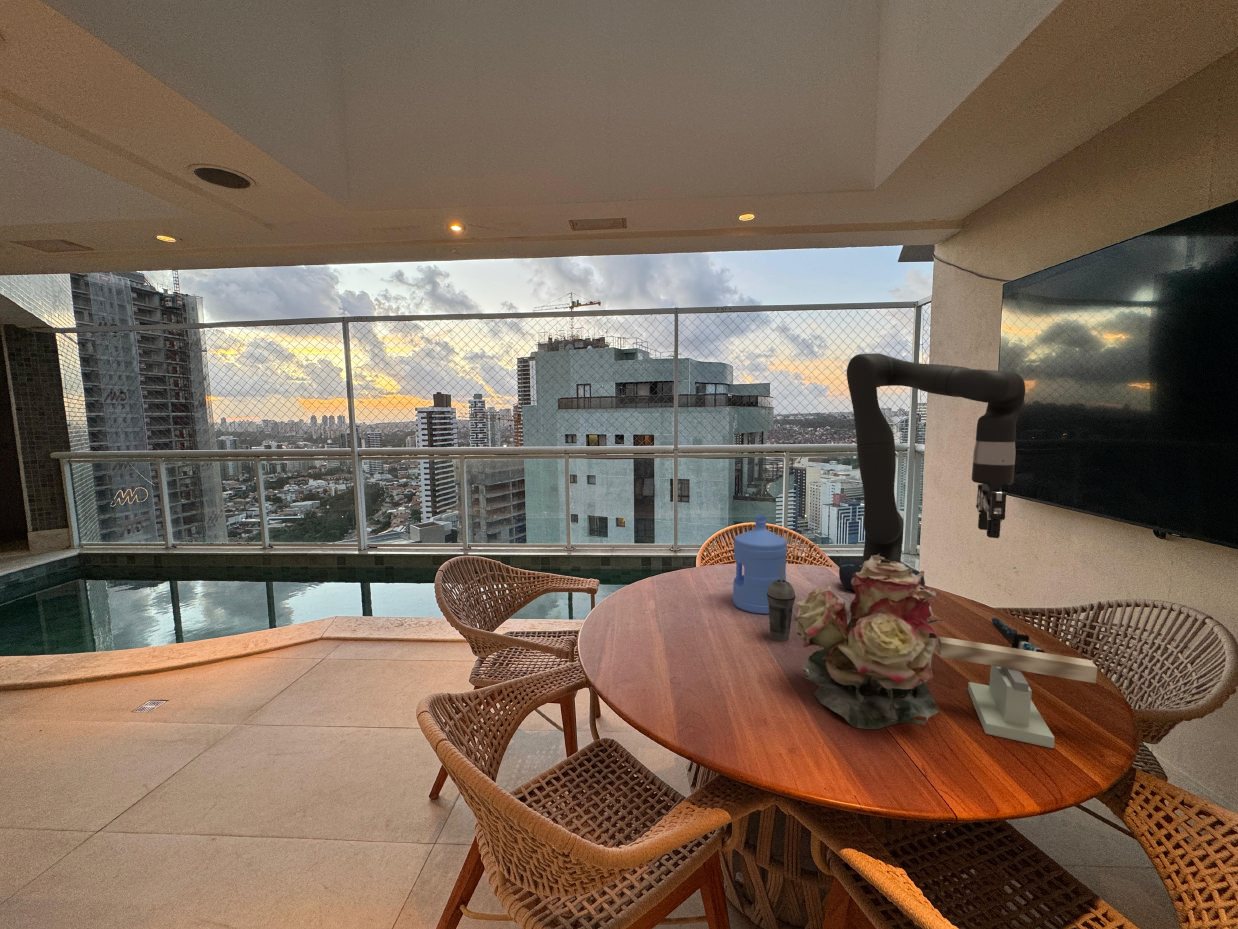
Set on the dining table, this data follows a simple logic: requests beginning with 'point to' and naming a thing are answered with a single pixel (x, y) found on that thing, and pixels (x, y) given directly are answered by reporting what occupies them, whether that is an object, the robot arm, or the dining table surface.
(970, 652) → the bar
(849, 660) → the rose bouquet
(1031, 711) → the stand
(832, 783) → the dining table surface
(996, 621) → the knife
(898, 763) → the dining table surface
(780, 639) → the beverage cup
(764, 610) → the water jug
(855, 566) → the portable speaker
